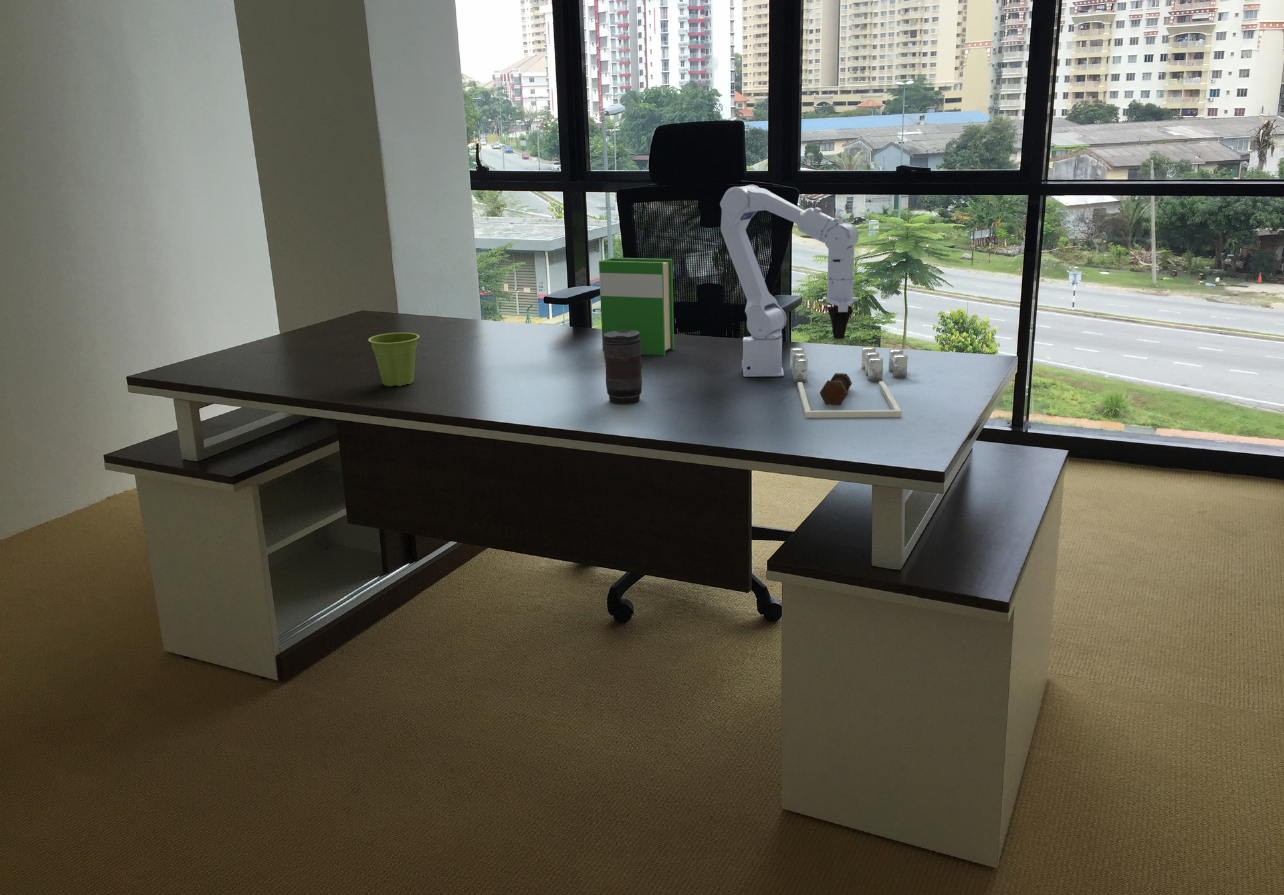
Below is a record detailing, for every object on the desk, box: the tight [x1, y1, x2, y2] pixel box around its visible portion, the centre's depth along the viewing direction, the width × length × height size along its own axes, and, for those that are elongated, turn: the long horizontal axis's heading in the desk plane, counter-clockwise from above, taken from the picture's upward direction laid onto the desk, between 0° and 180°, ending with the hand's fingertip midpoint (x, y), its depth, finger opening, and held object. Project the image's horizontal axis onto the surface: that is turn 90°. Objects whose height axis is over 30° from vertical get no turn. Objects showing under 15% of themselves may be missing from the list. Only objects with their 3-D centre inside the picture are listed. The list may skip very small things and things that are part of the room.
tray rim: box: [797, 380, 902, 419], centre depth 218 cm, size 19×25×1 cm
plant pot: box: [368, 332, 420, 387], centre depth 244 cm, size 12×12×11 cm
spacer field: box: [789, 346, 909, 384], centre depth 240 cm, size 26×15×5 cm, turn 85°
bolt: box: [819, 372, 853, 406], centre depth 222 cm, size 6×5×15 cm
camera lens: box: [603, 330, 643, 405], centre depth 222 cm, size 8×8×15 cm
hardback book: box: [598, 257, 675, 356], centre depth 270 cm, size 18×7×24 cm, turn 67°
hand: (838, 338), depth 233 cm, fingers closed
